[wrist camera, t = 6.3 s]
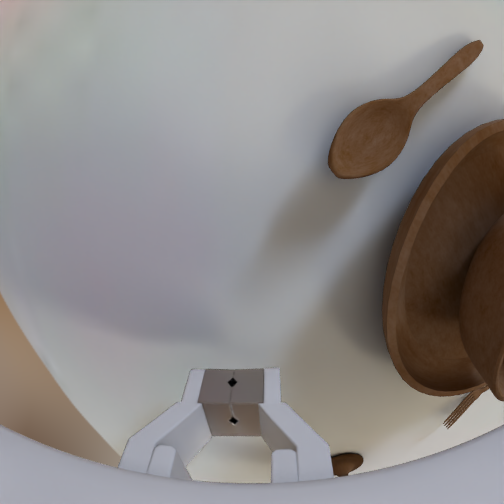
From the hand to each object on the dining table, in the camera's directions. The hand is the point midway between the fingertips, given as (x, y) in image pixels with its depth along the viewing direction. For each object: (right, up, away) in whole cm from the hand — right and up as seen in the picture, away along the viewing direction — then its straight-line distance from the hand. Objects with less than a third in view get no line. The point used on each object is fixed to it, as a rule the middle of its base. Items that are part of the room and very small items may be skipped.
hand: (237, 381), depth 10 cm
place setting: (+8, +1, +1) cm, 8 cm away
